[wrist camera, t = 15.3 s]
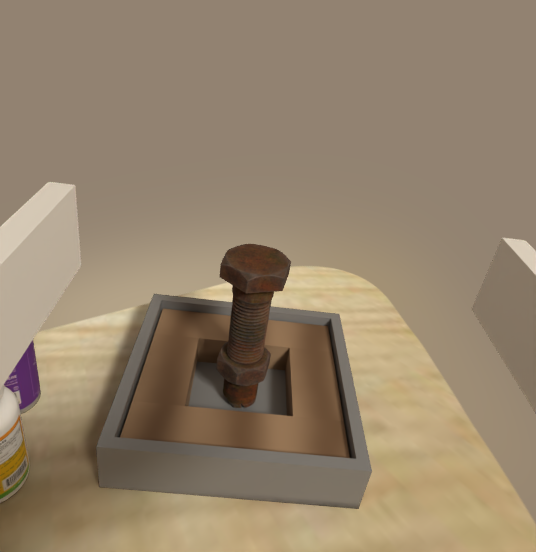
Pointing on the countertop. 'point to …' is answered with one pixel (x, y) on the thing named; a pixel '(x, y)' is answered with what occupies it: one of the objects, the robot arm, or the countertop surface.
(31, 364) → the container
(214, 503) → the countertop surface
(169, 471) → the open box
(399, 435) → the countertop surface
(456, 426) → the countertop surface
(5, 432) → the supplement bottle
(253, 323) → the bolt
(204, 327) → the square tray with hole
